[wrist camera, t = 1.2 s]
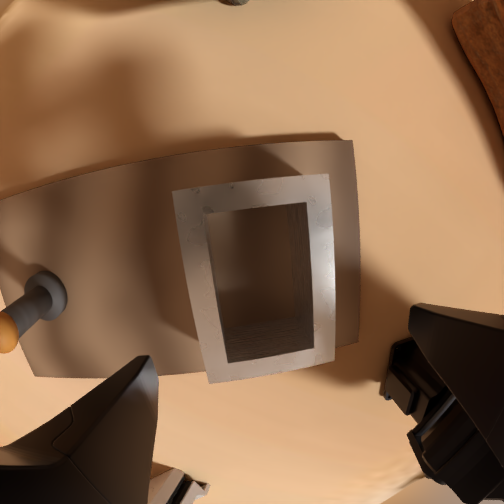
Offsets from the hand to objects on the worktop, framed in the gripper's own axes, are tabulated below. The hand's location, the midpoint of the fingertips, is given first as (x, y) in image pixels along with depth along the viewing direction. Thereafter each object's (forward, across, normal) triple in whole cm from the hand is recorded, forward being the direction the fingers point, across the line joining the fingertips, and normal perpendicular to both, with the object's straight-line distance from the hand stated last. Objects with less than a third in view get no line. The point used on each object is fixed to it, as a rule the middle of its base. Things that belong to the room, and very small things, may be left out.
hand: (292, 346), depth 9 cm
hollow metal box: (+9, 0, 0) cm, 9 cm away
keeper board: (+10, +6, 0) cm, 12 cm away
